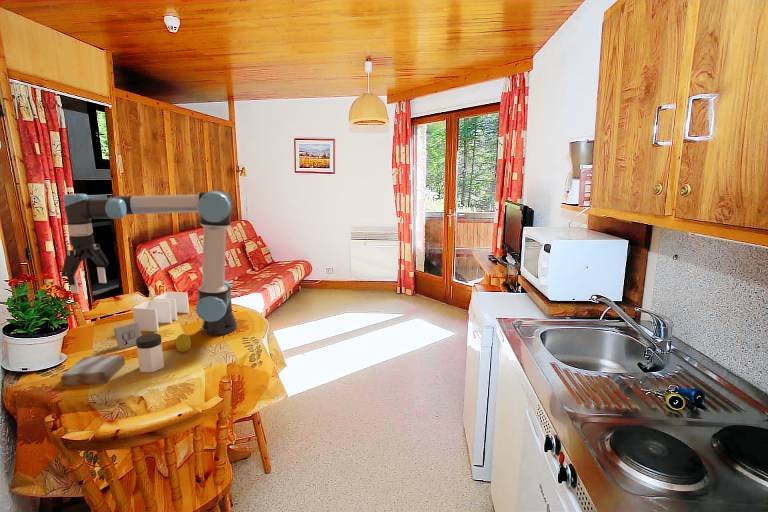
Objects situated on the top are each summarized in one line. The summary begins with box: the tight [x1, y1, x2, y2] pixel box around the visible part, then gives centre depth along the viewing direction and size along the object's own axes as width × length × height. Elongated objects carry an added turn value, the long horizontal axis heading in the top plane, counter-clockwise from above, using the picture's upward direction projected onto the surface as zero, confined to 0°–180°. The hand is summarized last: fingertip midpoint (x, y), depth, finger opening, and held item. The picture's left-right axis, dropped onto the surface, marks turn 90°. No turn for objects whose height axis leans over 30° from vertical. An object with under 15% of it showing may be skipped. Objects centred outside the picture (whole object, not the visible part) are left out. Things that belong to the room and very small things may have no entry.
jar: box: [135, 333, 165, 373], centre depth 153 cm, size 9×8×12 cm
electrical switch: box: [113, 321, 142, 350], centre depth 172 cm, size 9×5×9 cm, turn 141°
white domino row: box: [132, 291, 190, 333], centre depth 198 cm, size 25×11×11 cm, turn 173°
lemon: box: [175, 333, 192, 353], centre depth 166 cm, size 6×6×8 cm
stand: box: [60, 354, 126, 387], centre depth 148 cm, size 14×14×4 cm
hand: (89, 287), depth 161 cm, fingers open, 13 cm apart
